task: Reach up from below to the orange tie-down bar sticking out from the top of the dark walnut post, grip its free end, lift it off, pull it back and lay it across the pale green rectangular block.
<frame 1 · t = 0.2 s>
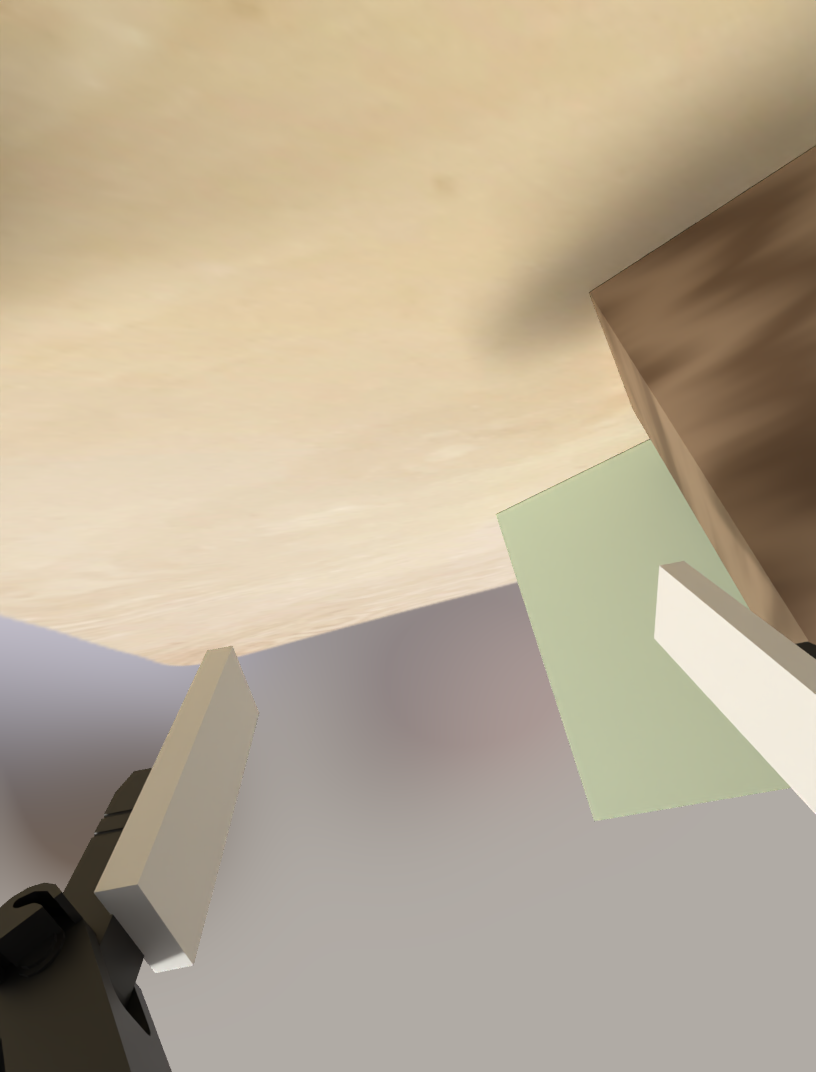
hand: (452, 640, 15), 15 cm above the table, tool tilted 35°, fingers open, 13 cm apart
pale green rectangular block: (596, 495, 37), on the table
post: (713, 303, 24), on the table
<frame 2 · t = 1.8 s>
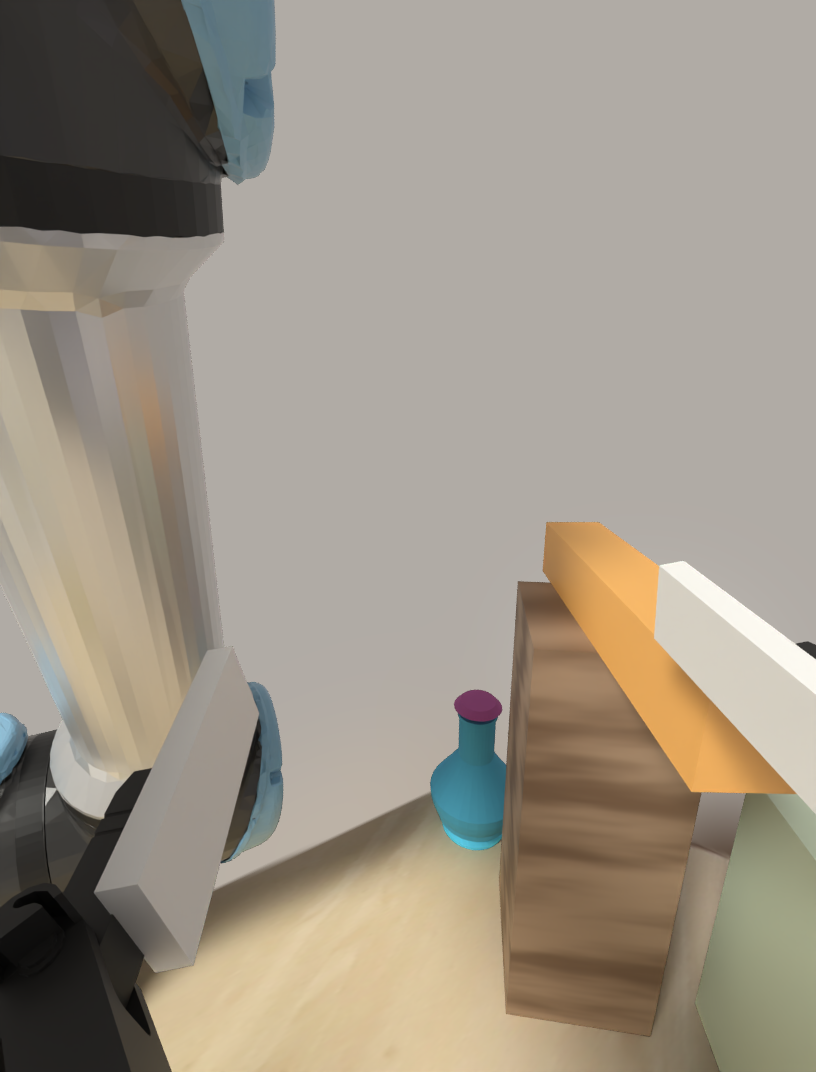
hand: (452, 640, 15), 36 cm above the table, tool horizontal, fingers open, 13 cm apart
perfume bottle: (473, 823, 51), on the table
post: (564, 947, 39), on the table
bar: (623, 638, 27), point 30 cm above the table, touching post
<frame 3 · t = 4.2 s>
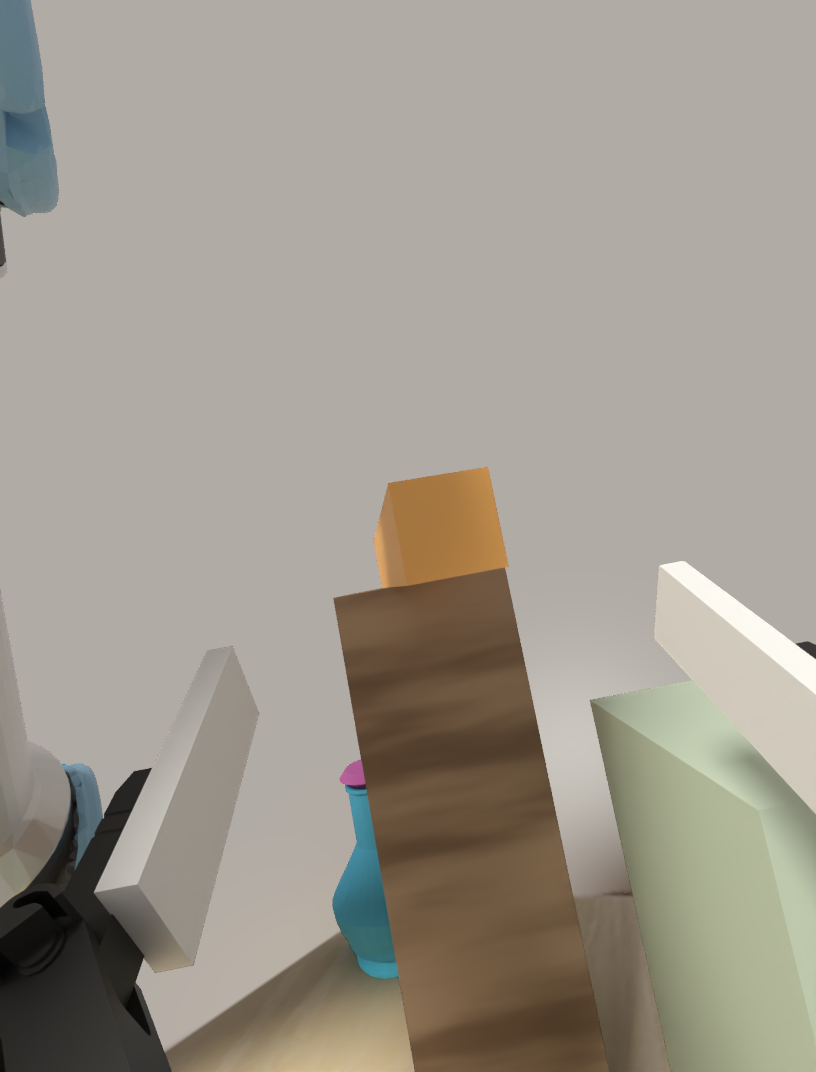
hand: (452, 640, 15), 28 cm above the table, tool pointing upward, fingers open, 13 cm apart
perfume bottle: (396, 947, 40), on the table
post: (507, 1059, 29), on the table
bar: (422, 581, 29), point 30 cm above the table, touching post
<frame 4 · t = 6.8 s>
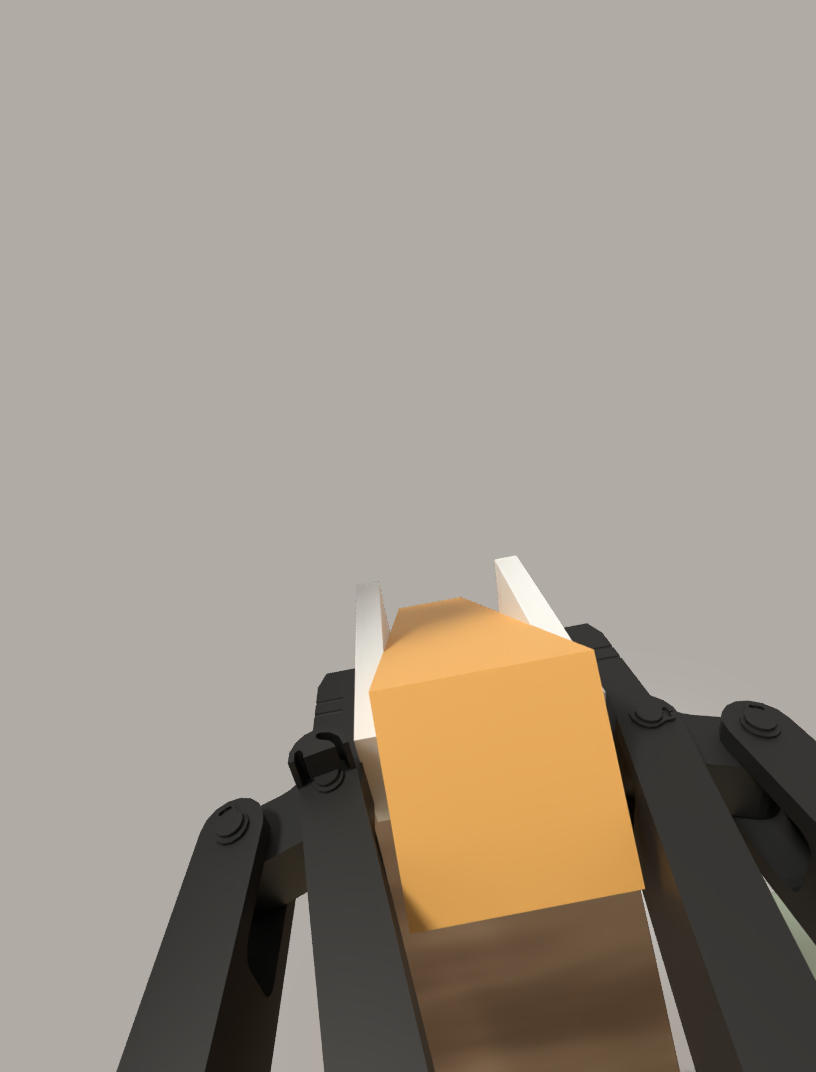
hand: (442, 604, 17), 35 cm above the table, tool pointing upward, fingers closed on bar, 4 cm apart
bar: (459, 717, 19), point 30 cm above the table, touching gripper, post
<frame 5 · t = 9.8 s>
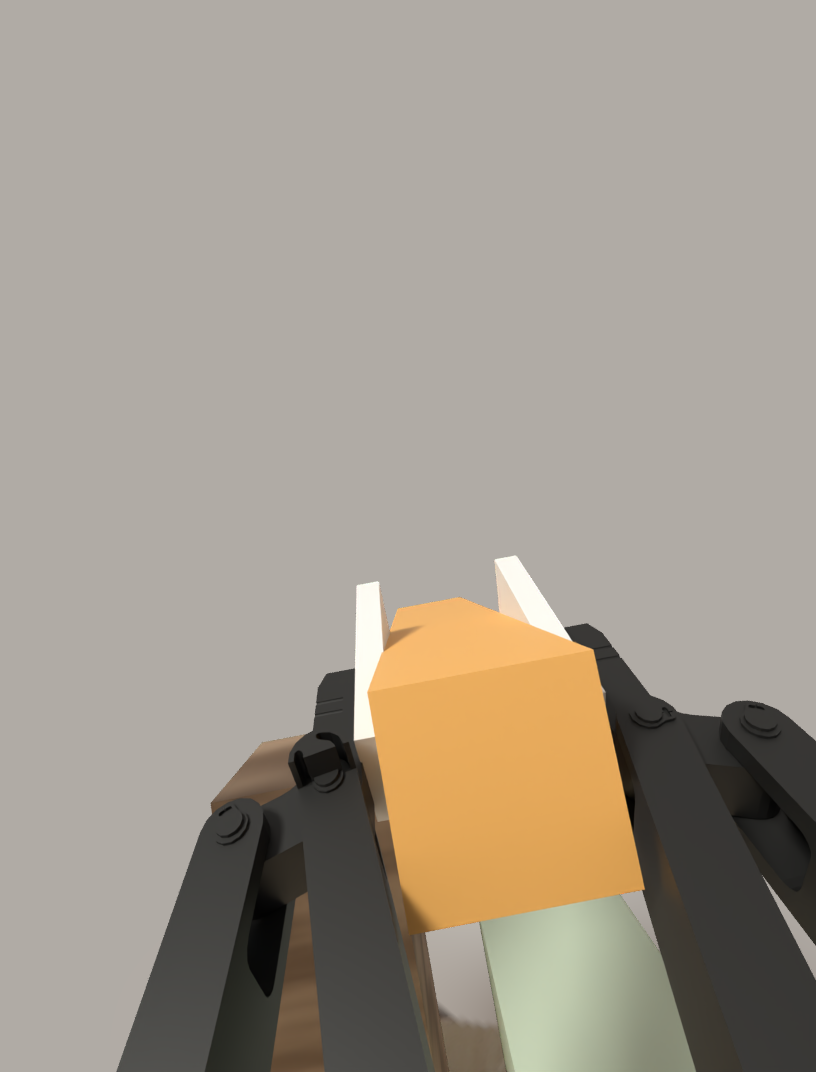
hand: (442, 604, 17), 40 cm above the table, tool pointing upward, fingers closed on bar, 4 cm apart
bar: (458, 717, 19), point 35 cm above the table, touching gripper
when the fingers open (27 cm above the table, at t = 12.7 s): bar stays where it is, resting on pale green rectangular block.
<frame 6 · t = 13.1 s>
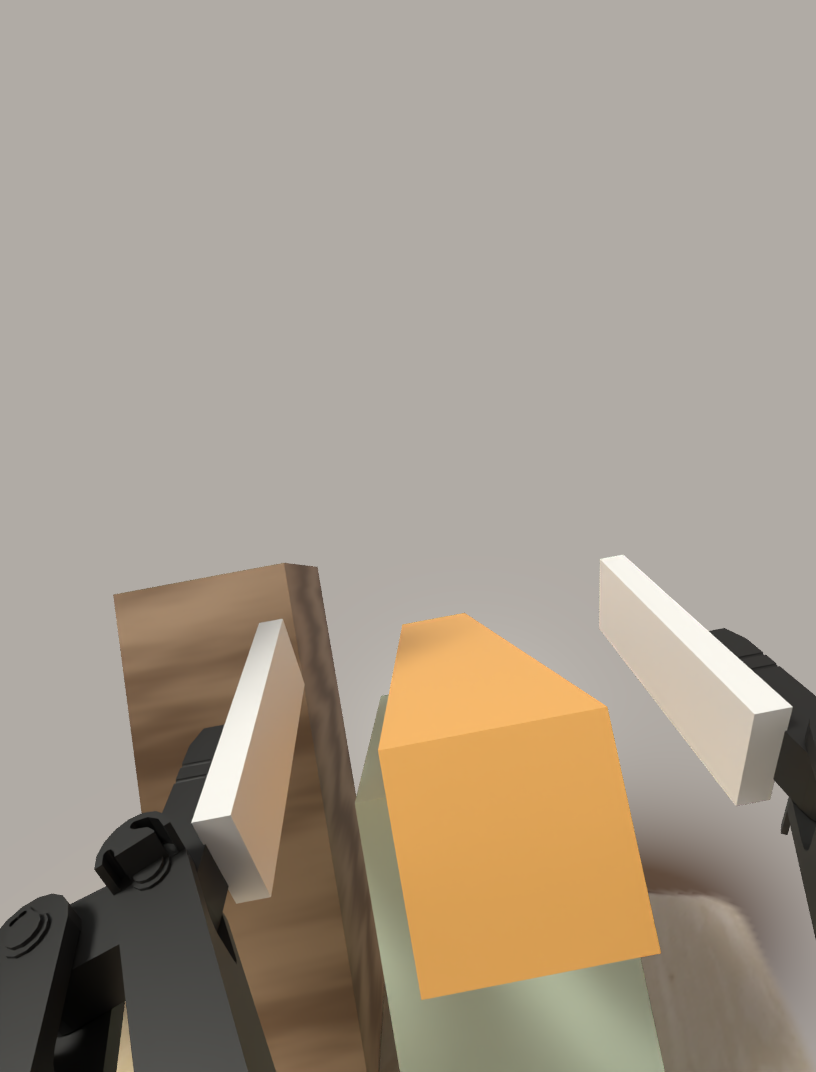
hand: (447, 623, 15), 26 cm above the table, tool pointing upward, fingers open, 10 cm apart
post: (302, 1049, 30), on the table
bar: (465, 743, 19), point 21 cm above the table, touching pale green rectangular block
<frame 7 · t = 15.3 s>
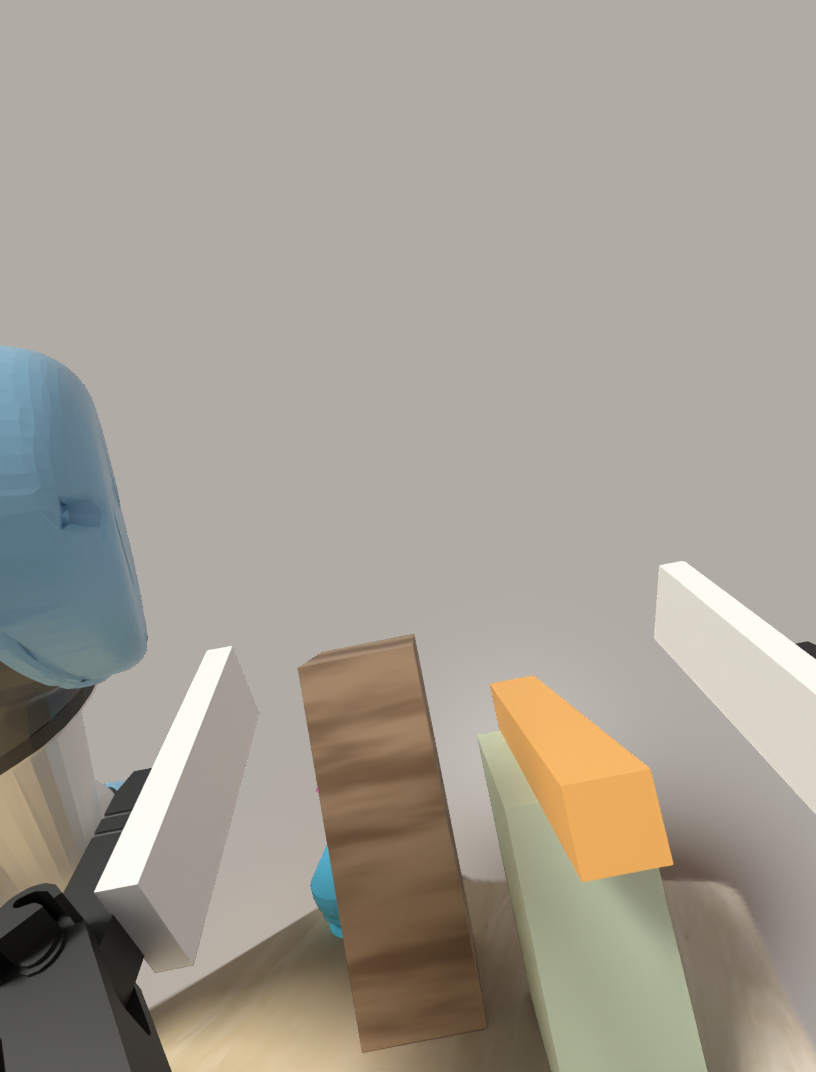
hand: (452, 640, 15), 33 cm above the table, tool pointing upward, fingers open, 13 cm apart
perfume bottle: (359, 918, 53), on the table
pale green rectangular block: (610, 1067, 33), on the table
post: (424, 986, 42), on the table
bar: (555, 773, 31), point 21 cm above the table, touching pale green rectangular block
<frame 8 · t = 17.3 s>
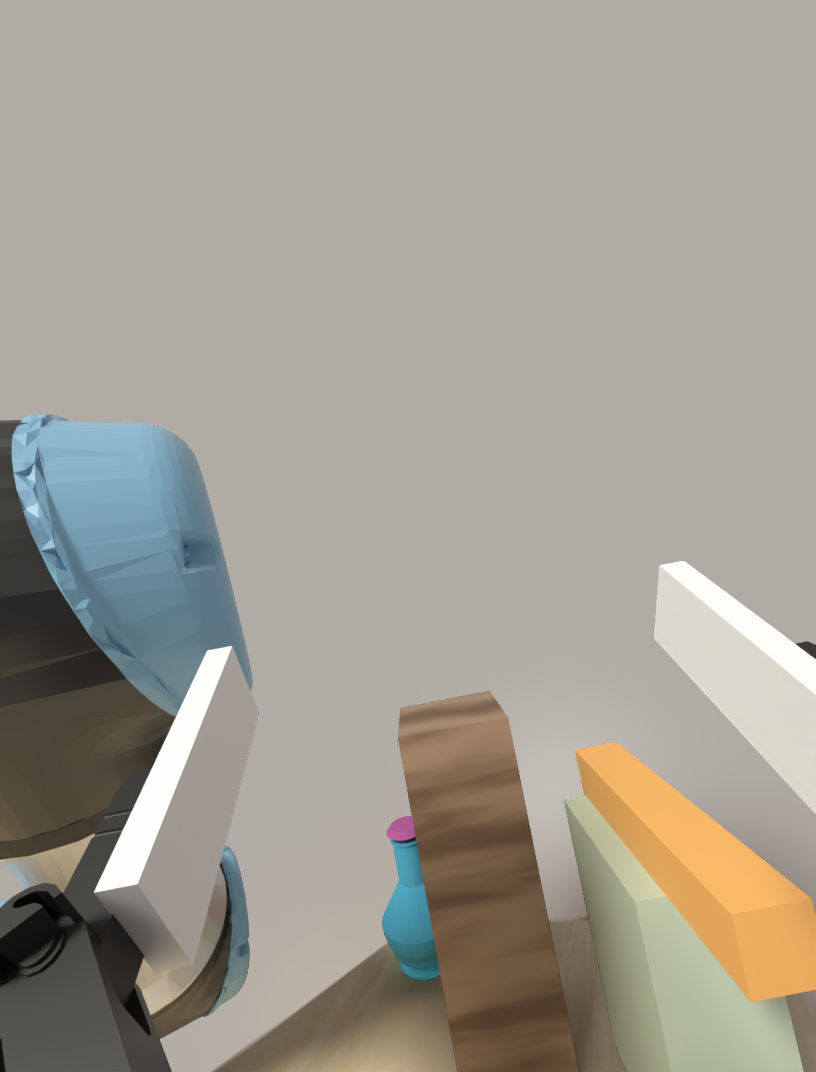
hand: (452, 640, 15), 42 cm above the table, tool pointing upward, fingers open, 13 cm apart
perfume bottle: (428, 957, 56), on the table
post: (509, 1034, 45), on the table
bar: (668, 858, 34), point 21 cm above the table, touching pale green rectangular block
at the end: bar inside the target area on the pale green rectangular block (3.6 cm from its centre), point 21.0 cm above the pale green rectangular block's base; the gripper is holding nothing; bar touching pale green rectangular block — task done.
